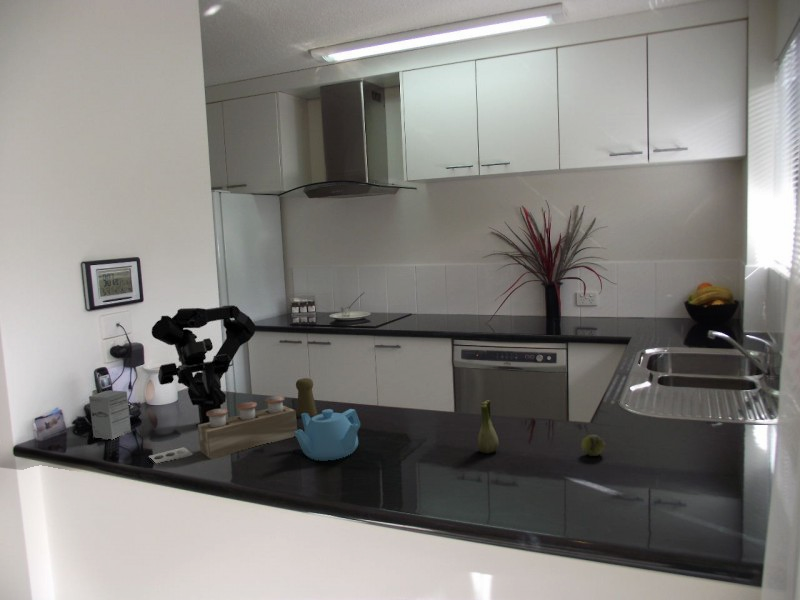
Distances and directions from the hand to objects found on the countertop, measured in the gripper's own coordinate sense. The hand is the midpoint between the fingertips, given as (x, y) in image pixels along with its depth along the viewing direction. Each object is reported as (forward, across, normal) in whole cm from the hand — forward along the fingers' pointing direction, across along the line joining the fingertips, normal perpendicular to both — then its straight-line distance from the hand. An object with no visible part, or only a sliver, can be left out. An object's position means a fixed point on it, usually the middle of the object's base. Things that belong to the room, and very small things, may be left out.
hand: (204, 393), depth 167 cm
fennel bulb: (+51, +47, -32) cm, 77 cm away
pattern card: (+12, -11, +8) cm, 18 cm away
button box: (+16, +8, +3) cm, 18 cm away
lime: (+65, +61, -45) cm, 100 cm away
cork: (+7, +31, +12) cm, 34 cm away
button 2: (+12, +16, -1) cm, 20 cm away
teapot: (+32, +20, -12) cm, 39 cm away
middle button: (+12, +8, -1) cm, 14 cm away
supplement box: (-11, -19, +30) cm, 37 cm away
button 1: (+12, 0, -1) cm, 12 cm away
